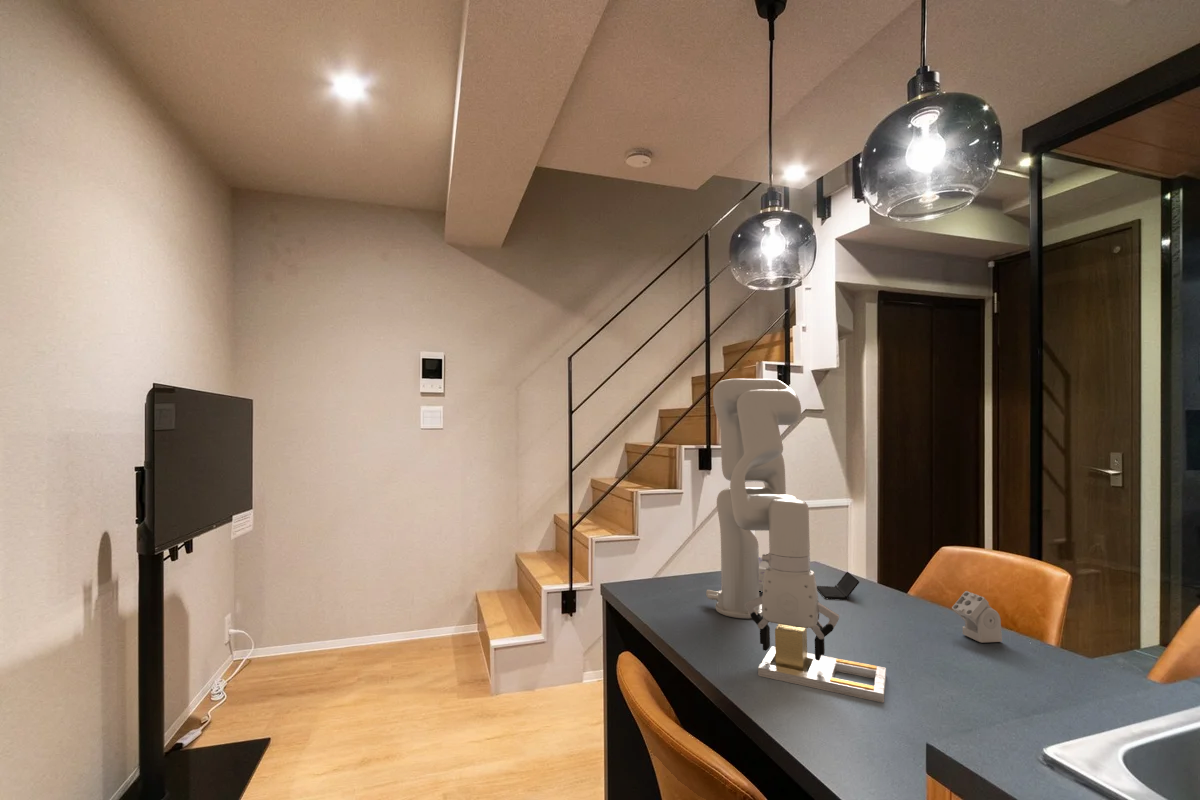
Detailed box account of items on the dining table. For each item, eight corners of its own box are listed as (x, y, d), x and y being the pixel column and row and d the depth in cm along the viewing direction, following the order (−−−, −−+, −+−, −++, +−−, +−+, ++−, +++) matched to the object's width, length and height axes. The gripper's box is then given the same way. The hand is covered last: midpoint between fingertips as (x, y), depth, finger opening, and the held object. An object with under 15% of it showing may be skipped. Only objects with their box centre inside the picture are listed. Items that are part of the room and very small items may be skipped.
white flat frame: (758, 675, 102) (758, 666, 102) (772, 653, 113) (771, 645, 113) (883, 702, 92) (883, 692, 92) (886, 675, 102) (885, 666, 103)
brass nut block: (775, 672, 104) (774, 629, 105) (781, 662, 109) (780, 621, 109) (803, 677, 102) (802, 633, 102) (807, 667, 106) (806, 625, 107)
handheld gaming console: (809, 583, 161) (830, 557, 161) (827, 597, 162) (849, 571, 161) (824, 600, 150) (848, 572, 149) (844, 616, 150) (868, 588, 150)
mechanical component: (1003, 643, 119) (1000, 596, 120) (970, 644, 118) (968, 597, 119) (983, 634, 124) (981, 589, 125) (951, 635, 123) (950, 590, 124)
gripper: (740, 561, 107) (742, 651, 106) (835, 572, 99) (838, 669, 98) (750, 554, 114) (751, 638, 113) (839, 564, 105) (842, 655, 104)
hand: (791, 653), depth 105 cm, fingers open, 9 cm apart
